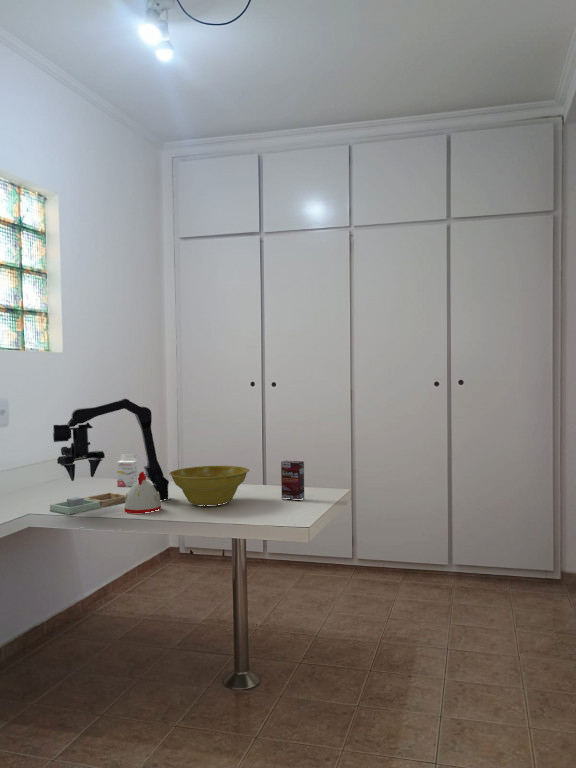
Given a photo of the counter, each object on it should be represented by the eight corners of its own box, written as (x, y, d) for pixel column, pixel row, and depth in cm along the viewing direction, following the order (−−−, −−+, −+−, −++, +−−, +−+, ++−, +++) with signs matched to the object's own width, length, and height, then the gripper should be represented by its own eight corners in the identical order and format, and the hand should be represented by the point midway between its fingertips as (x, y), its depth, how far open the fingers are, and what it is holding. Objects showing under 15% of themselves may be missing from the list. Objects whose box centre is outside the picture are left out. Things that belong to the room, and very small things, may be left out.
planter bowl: (164, 499, 278) (163, 467, 278) (238, 493, 289) (237, 462, 288) (177, 515, 248) (176, 479, 247) (259, 507, 258) (259, 473, 258)
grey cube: (83, 508, 263) (83, 498, 262) (73, 510, 259) (73, 500, 259) (76, 506, 265) (76, 497, 265) (67, 509, 262) (66, 498, 262)
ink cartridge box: (116, 486, 312) (116, 455, 311) (120, 484, 317) (119, 454, 316) (134, 486, 311) (133, 455, 311) (138, 484, 316) (137, 454, 315)
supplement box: (281, 500, 273) (280, 461, 272) (286, 498, 277) (285, 460, 276) (299, 501, 269) (299, 462, 268) (305, 499, 273) (304, 461, 272)
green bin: (100, 508, 264) (100, 501, 264) (69, 514, 253) (69, 508, 253) (80, 504, 272) (80, 498, 272) (50, 510, 261) (49, 504, 260)
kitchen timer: (119, 514, 252) (118, 475, 252) (130, 506, 266) (129, 469, 265) (156, 514, 251) (155, 474, 251) (164, 506, 265) (163, 469, 265)
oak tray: (130, 501, 276) (130, 495, 276) (102, 507, 264) (102, 501, 264) (110, 498, 284) (110, 492, 283) (82, 504, 272) (82, 498, 272)
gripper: (87, 436, 277) (89, 473, 278) (48, 442, 262) (50, 481, 263) (104, 437, 271) (106, 475, 271) (65, 443, 256) (67, 483, 256)
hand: (82, 478), depth 265 cm, fingers open, 9 cm apart
